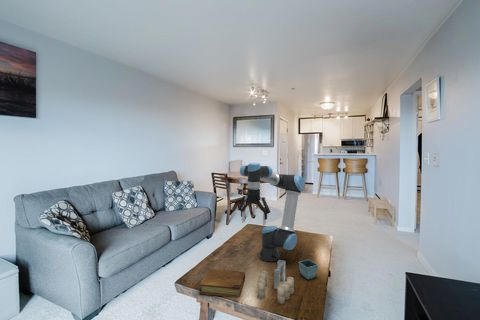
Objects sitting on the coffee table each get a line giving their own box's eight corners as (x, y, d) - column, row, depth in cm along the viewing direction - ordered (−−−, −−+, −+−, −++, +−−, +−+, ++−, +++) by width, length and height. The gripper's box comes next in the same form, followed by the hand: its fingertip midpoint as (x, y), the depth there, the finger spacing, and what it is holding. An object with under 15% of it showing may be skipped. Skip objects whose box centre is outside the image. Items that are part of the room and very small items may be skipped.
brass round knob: (275, 283, 143) (275, 278, 143) (283, 285, 141) (283, 280, 141) (272, 287, 139) (272, 282, 139) (280, 289, 136) (280, 284, 136)
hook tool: (279, 278, 148) (279, 259, 148) (285, 279, 147) (285, 260, 146) (273, 288, 137) (273, 268, 137) (279, 290, 135) (279, 269, 135)
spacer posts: (261, 283, 142) (261, 270, 142) (294, 291, 134) (294, 277, 134) (252, 296, 129) (252, 281, 129) (288, 306, 121) (288, 290, 121)
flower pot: (307, 281, 144) (307, 267, 144) (298, 275, 152) (298, 261, 152) (318, 279, 148) (318, 264, 148) (308, 272, 156) (309, 259, 156)
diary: (245, 280, 146) (245, 271, 146) (239, 298, 128) (240, 287, 128) (209, 277, 150) (209, 268, 150) (199, 293, 132) (199, 283, 132)
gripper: (232, 188, 144) (232, 222, 144) (271, 190, 133) (271, 227, 133) (238, 186, 150) (237, 219, 151) (275, 189, 140) (275, 224, 140)
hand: (253, 223), depth 142 cm, fingers open, 13 cm apart
